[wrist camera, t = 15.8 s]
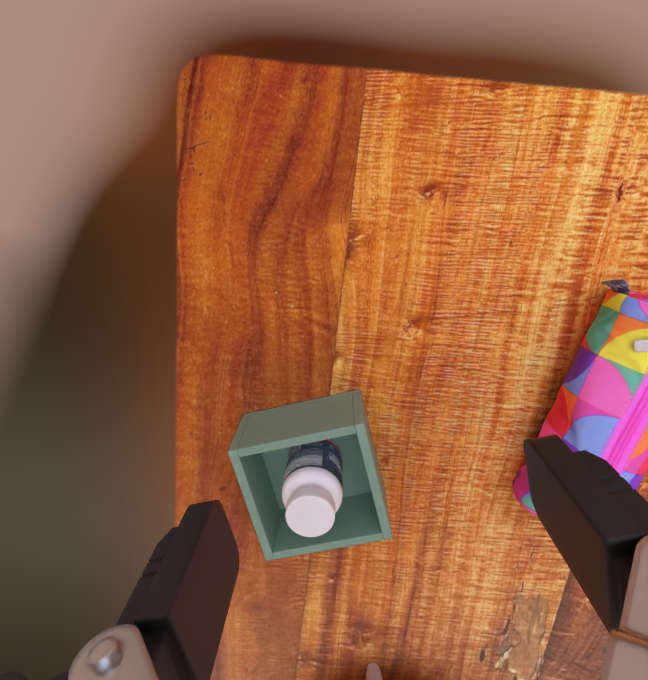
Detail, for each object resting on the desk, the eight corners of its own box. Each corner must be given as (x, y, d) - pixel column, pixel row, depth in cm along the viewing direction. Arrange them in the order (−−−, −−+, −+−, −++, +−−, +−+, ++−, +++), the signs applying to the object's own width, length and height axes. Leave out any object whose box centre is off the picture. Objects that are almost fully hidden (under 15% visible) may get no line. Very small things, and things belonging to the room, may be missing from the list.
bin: (275, 511, 48) (266, 561, 42) (243, 413, 45) (227, 451, 38) (385, 491, 47) (392, 538, 41) (360, 388, 44) (364, 423, 37)
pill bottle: (346, 475, 46) (349, 540, 37) (295, 484, 46) (286, 549, 38) (336, 428, 44) (335, 484, 36) (283, 437, 45) (270, 495, 36)
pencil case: (587, 262, 40) (656, 283, 31) (689, 292, 40) (784, 319, 31) (492, 474, 46) (527, 538, 38) (580, 496, 47) (635, 565, 38)
